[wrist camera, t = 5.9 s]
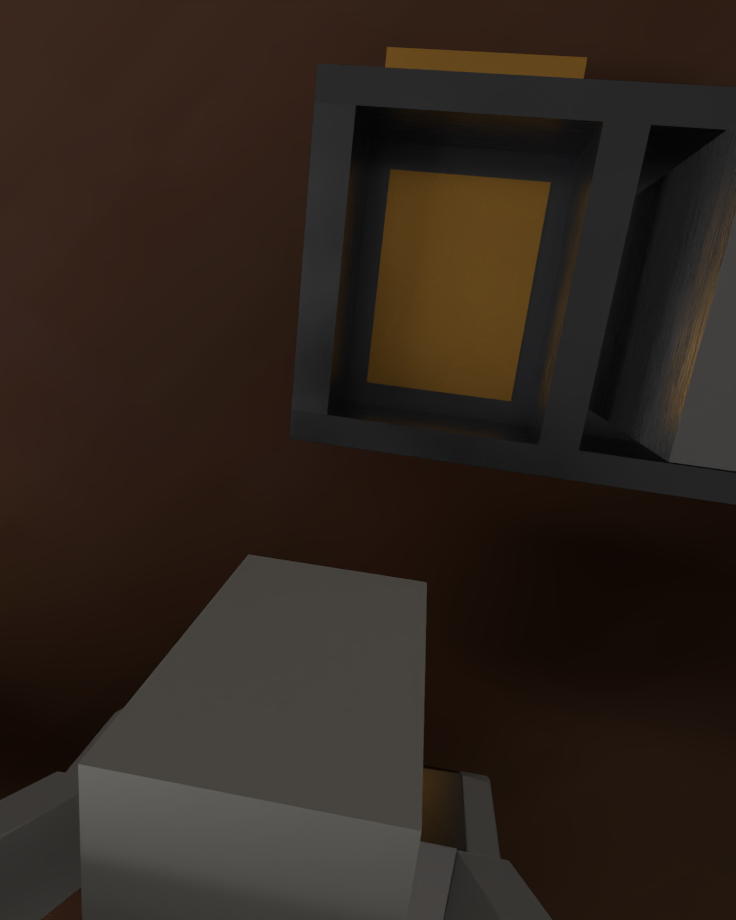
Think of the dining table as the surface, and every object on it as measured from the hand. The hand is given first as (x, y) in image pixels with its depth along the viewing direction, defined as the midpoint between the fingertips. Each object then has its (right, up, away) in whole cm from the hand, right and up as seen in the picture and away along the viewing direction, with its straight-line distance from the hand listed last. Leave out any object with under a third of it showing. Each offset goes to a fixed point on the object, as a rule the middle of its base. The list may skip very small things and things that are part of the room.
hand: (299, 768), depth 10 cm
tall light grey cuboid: (0, +1, +2) cm, 2 cm away
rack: (+10, +10, +5) cm, 15 cm away
